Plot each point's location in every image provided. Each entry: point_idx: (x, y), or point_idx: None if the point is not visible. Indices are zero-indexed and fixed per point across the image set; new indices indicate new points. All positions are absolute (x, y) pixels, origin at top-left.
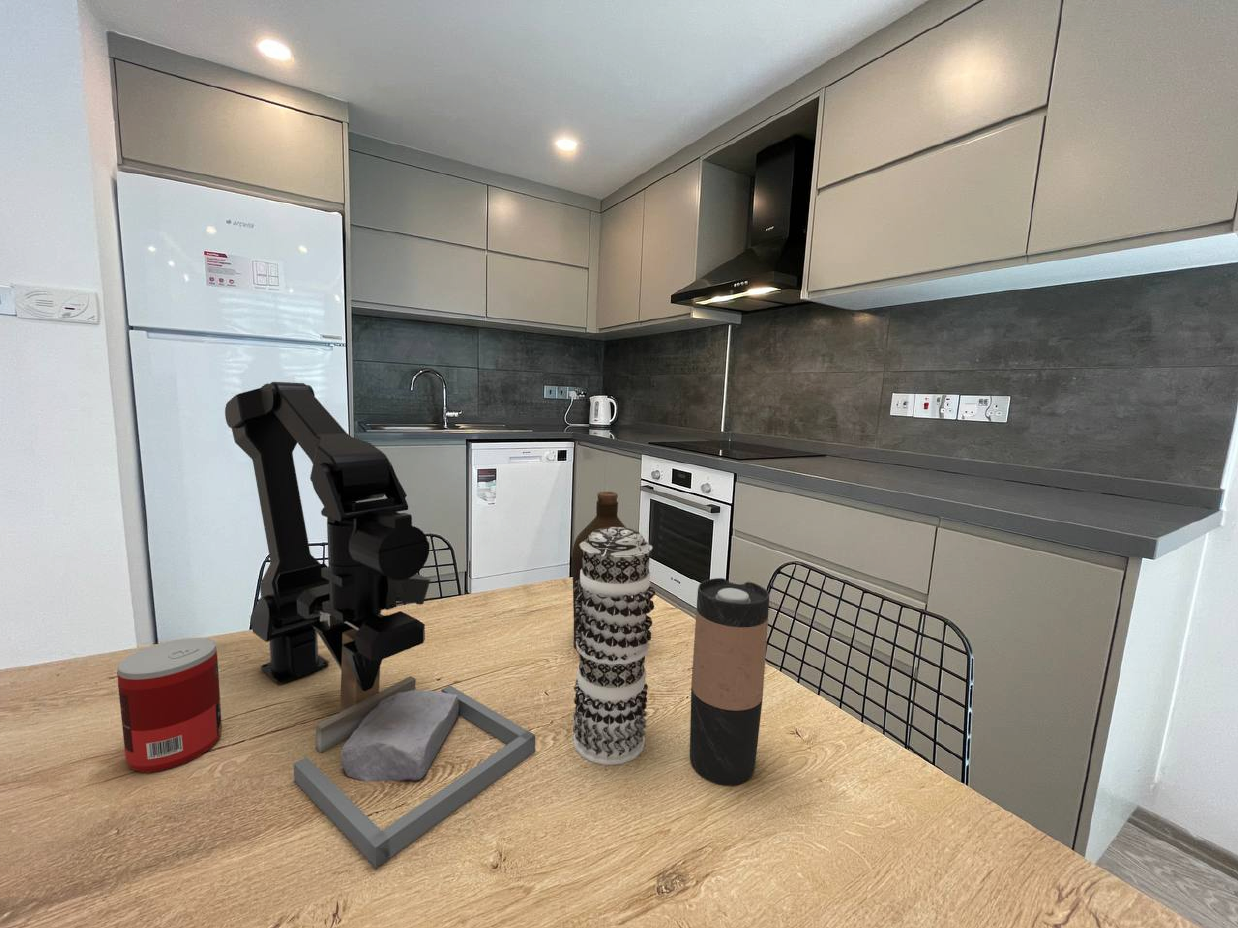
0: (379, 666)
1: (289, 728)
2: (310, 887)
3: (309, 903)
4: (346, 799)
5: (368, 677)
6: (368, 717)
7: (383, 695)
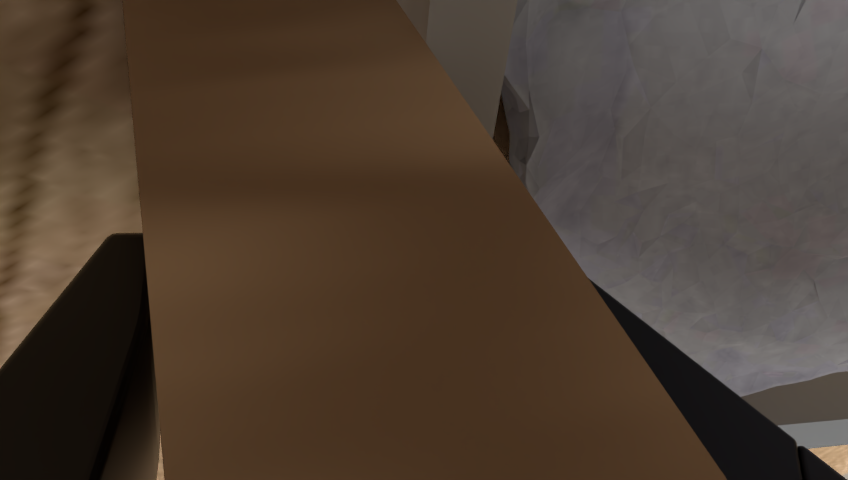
0: (747, 411)
1: (10, 336)
2: (819, 454)
3: (841, 461)
4: (826, 424)
5: None
6: (550, 195)
7: (503, 37)
